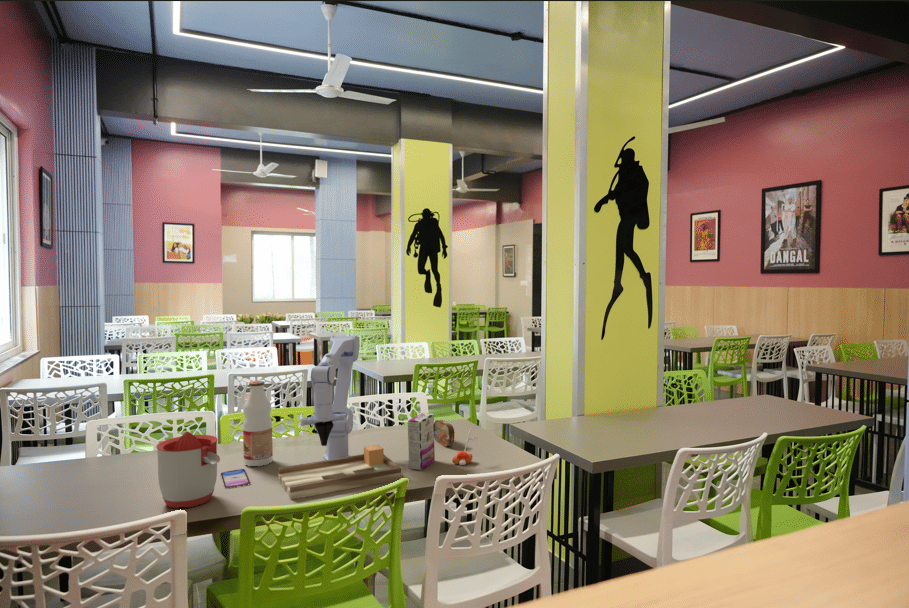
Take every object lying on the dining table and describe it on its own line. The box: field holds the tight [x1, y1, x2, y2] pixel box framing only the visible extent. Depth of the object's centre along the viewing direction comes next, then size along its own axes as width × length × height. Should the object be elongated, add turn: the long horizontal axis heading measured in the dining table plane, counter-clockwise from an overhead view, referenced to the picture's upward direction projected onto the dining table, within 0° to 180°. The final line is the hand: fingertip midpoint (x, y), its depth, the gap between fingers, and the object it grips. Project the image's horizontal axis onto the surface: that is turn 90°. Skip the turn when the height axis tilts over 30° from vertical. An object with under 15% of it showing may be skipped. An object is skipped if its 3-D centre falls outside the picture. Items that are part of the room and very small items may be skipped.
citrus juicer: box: [155, 431, 221, 509], centre depth 156 cm, size 16×17×20 cm
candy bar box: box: [407, 412, 436, 471], centre depth 186 cm, size 11×5×16 cm, turn 159°
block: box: [363, 444, 385, 466], centre depth 183 cm, size 5×5×5 cm
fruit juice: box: [242, 380, 274, 467], centre depth 189 cm, size 9×9×28 cm
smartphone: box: [220, 468, 251, 489], centre depth 174 cm, size 8×15×1 cm, turn 28°
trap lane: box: [277, 453, 403, 500], centre depth 174 cm, size 19×34×4 cm, turn 118°
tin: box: [434, 419, 456, 448], centre depth 211 cm, size 15×3×8 cm, turn 25°
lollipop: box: [451, 428, 478, 466], centre depth 188 cm, size 6×10×12 cm, turn 107°
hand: (323, 445), depth 178 cm, fingers closed
